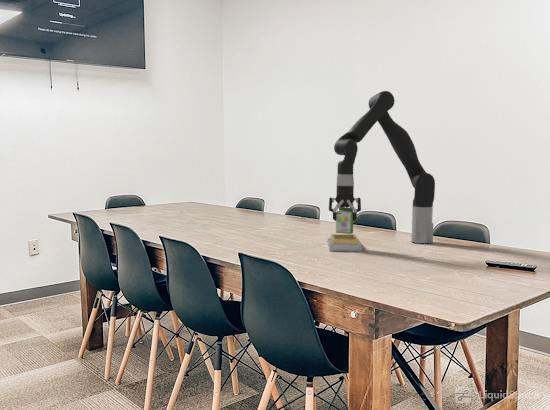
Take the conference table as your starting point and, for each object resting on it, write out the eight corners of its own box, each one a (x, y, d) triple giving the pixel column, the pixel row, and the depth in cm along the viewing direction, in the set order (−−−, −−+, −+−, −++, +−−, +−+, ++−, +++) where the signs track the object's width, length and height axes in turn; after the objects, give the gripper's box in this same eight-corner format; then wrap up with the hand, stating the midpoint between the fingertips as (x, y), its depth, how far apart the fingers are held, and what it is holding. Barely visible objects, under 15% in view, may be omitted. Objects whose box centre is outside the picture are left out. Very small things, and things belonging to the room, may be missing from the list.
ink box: (335, 233, 241) (335, 203, 240) (338, 231, 245) (339, 202, 243) (350, 234, 238) (350, 204, 236) (353, 233, 241) (353, 203, 240)
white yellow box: (357, 246, 249) (358, 234, 249) (361, 253, 233) (362, 239, 233) (327, 246, 250) (327, 233, 249) (329, 252, 234) (329, 239, 233)
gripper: (360, 184, 242) (359, 219, 244) (328, 183, 243) (328, 219, 245) (362, 185, 235) (361, 222, 236) (329, 185, 235) (329, 221, 237)
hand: (344, 220), depth 241 cm, fingers closed on ink box, 8 cm apart
